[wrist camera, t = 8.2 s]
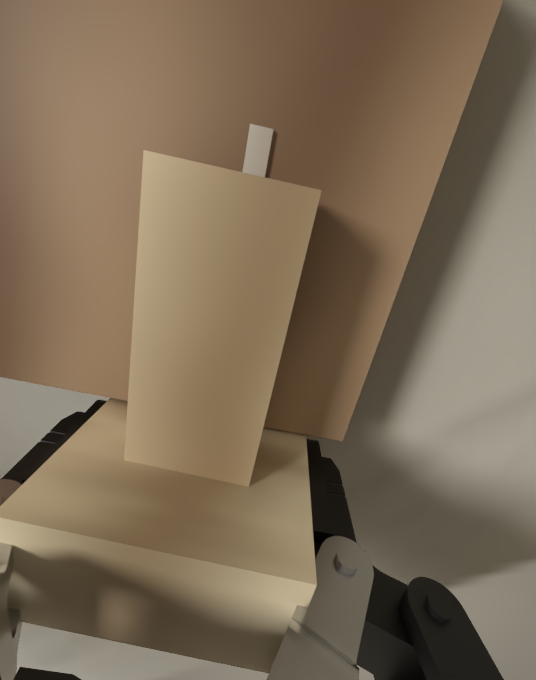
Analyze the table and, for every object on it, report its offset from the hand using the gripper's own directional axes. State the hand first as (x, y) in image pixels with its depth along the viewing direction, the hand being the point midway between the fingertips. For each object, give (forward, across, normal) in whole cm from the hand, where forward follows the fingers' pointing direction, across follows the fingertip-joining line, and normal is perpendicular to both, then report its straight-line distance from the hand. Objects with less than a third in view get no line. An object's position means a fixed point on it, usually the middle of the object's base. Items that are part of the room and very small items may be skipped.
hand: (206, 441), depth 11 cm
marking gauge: (+1, 0, -3) cm, 4 cm away
